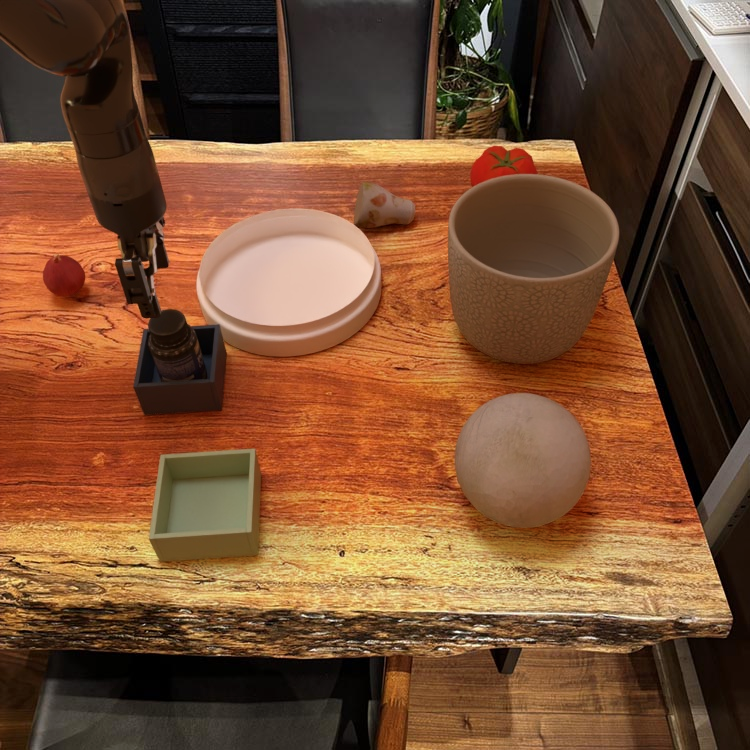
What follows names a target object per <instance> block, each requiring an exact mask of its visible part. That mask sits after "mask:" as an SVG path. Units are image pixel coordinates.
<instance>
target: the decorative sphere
mask: <svg viewBox="0 0 750 750" xmlns="http://www.w3.org/2000/svg"><path fill="white" fill-rule="evenodd" d="M588 440H589V439H588V437H587V435H586V433H585V431H584V429H583V427H582V425H581V424H580V422H579V421H578V420H577V418H576V417H575V416H574V415H573V414H572V413H571V412H570V411H569V410H568V409H567V408H565V407H564V406H563V405H562V404H560V403H559V402H557V401H555V400H553V399H551V398H548V397H547V396H543V395H540V394H535V393H528V392H514V393H513V392H512V393H508V394H504V395H499V396H496V397H495V398H492V399H490V400H488V401H487V402H485V403H484V404H482V405H480V406H479V407H478V408H477V409H476V410H475V411H474V412H473V413H471V415H470V416H469V417H468V418H467V420H466V421H465V423H464V424H463V425H462V428H461V429H460V432H459V434H458V436H457V440H456V443H455V449H454V450H455V451H454V468H455V474H456V479H457V482H458V484H459V486H460V489H461V491H462V493H463V494H464V496H465V498H466V499H467V500H468V502H469V503H470V504H471V505H472V506H473V507H474V508H475V510H477V511H478V512H479V513H480V514H482V515H483V516H484V517H485V518H488V519H490V520H491V521H493V522H495V523H498V524H500V525H503V526H506V527H507V526H508V527H511V528H518V529H526V528H527V529H528V528H537V527H542V526H545V525H548V524H550V523H552V522H555V521H557V520H559V519H560V518H562V517H563V516H565V515H566V514H568V512H570V511H571V510H572V509H573V508H574V507H575V506H576V504H577V503H579V500H580V499H581V498H582V496H583V494H584V492H585V491H586V487H587V486H588V484H589V480H590V474H591V470H592V469H591V468H592V458H591V457H592V456H591V448H590V445H589V441H588Z"/></svg>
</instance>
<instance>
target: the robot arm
mask: <svg viewBox="0 0 750 750" xmlns="http://www.w3.org/2000/svg"><path fill="white" fill-rule="evenodd" d="M130 33H131V32H130V25H129V19H128V16H127V12H126V9H125V5H124V3H123V0H0V40H2V41H3V42H4V43H5V44H6V45H8V46H9V47H10V48H11V49H13V51H14V52H15V53H17V54H18V55H19V56H21V57H22V58H23V59H25V61H27V62H28V63H30V64H31V65H33V66H35V67H36V68H39V69H40V70H42V71H45V72H47V73H49V74H53V75H55V76H56V75H57V76H61V77H65V80H64V83H63V87H62V90H61V93H60V107H61V112H62V116H63V119H64V123H65V125H66V128H67V130H68V134H69V137H70V139H71V142H72V145H73V147H74V151H75V156H76V162H77V166H78V169H79V170H78V171H79V173H80V176H81V179H82V181H83V185H84V187H85V190H86V193H87V196H88V198H89V201H90V204H91V207H92V210H93V213H94V215H95V218H96V221H97V222H98V224H99V225H100V226H101V227H102V228H104V229H106V230H107V231H109V232H112V233H113V234H115V235H117V237H116V240H117V248H118V250H119V251H120V255H121V258H119V257H118V258H115V261H114V267H115V269H116V272H117V276H118V278H119V281H120V285H121V287H122V291H123V294H124V298H125V301H126V303H127V305H137V307H138V310H139V313H140V316H141V318H143V319H150V318H159V317H160V316H161V311H162V309H161V305H160V302H159V298H158V296H157V292H156V288H155V280H154V275H155V274H157V272H158V269H159V270H160V269H168V268H169V265H170V260H169V255H168V253H167V252H168V251H167V248H166V245H165V242H164V241H165V238H166V234H165V233H164V232H165V231H164V228H165V226H166V220H165V217H164V216H165V214H166V211H167V205H168V204H167V200H166V196H165V192H164V189H163V185H162V180H161V178H160V174H159V170H158V166H157V163H156V158H155V155H154V151H153V148H152V146H151V143H150V142H149V140H148V137H147V134H146V131H145V127H144V123H143V120H142V115H141V111H140V108H139V105H138V102H137V99H136V96H135V91H134V90H135V89H134V70H133V58H132V57H133V56H132V43H131V34H130ZM146 262H148V266H147V267H145V266H144V263H146Z"/></svg>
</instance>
